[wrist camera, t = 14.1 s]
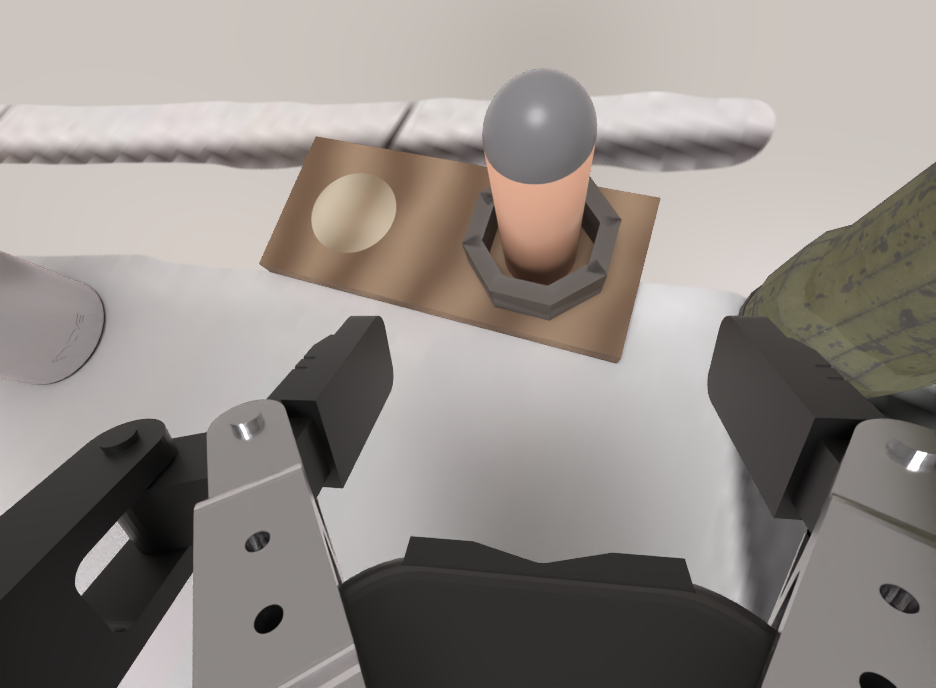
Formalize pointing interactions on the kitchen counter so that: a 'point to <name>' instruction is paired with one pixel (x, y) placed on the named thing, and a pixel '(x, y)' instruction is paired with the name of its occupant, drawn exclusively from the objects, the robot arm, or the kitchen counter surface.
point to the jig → (456, 247)
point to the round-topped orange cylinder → (540, 170)
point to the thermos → (866, 294)
